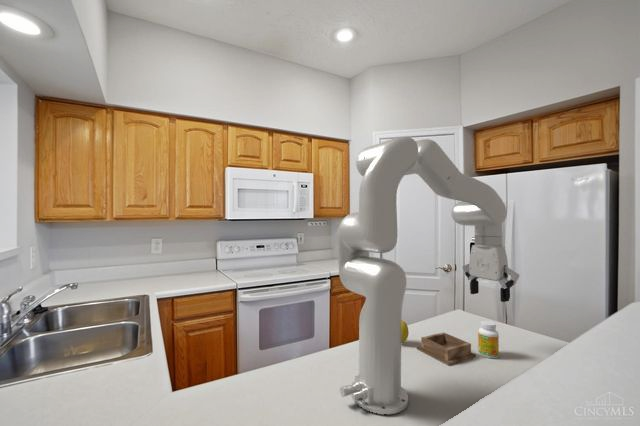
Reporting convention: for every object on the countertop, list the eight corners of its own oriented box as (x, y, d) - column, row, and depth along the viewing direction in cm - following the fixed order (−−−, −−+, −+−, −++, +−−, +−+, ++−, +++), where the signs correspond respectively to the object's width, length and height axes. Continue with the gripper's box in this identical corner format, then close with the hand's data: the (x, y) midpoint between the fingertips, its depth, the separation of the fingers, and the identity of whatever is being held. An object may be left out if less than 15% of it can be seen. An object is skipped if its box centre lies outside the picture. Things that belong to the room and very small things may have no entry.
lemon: (390, 345, 95) (390, 320, 96) (391, 339, 101) (391, 315, 101) (408, 348, 94) (408, 322, 94) (408, 341, 99) (408, 317, 99)
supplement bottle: (478, 356, 89) (478, 323, 89) (478, 349, 94) (478, 318, 94) (499, 360, 86) (499, 327, 86) (498, 353, 91) (497, 321, 91)
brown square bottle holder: (448, 365, 83) (448, 352, 83) (416, 348, 93) (416, 336, 93) (476, 357, 88) (476, 344, 88) (443, 342, 99) (443, 330, 99)
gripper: (455, 240, 97) (456, 292, 97) (509, 244, 81) (510, 306, 81) (470, 239, 100) (471, 289, 100) (525, 243, 85) (526, 302, 84)
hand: (489, 297), depth 91 cm, fingers open, 9 cm apart
